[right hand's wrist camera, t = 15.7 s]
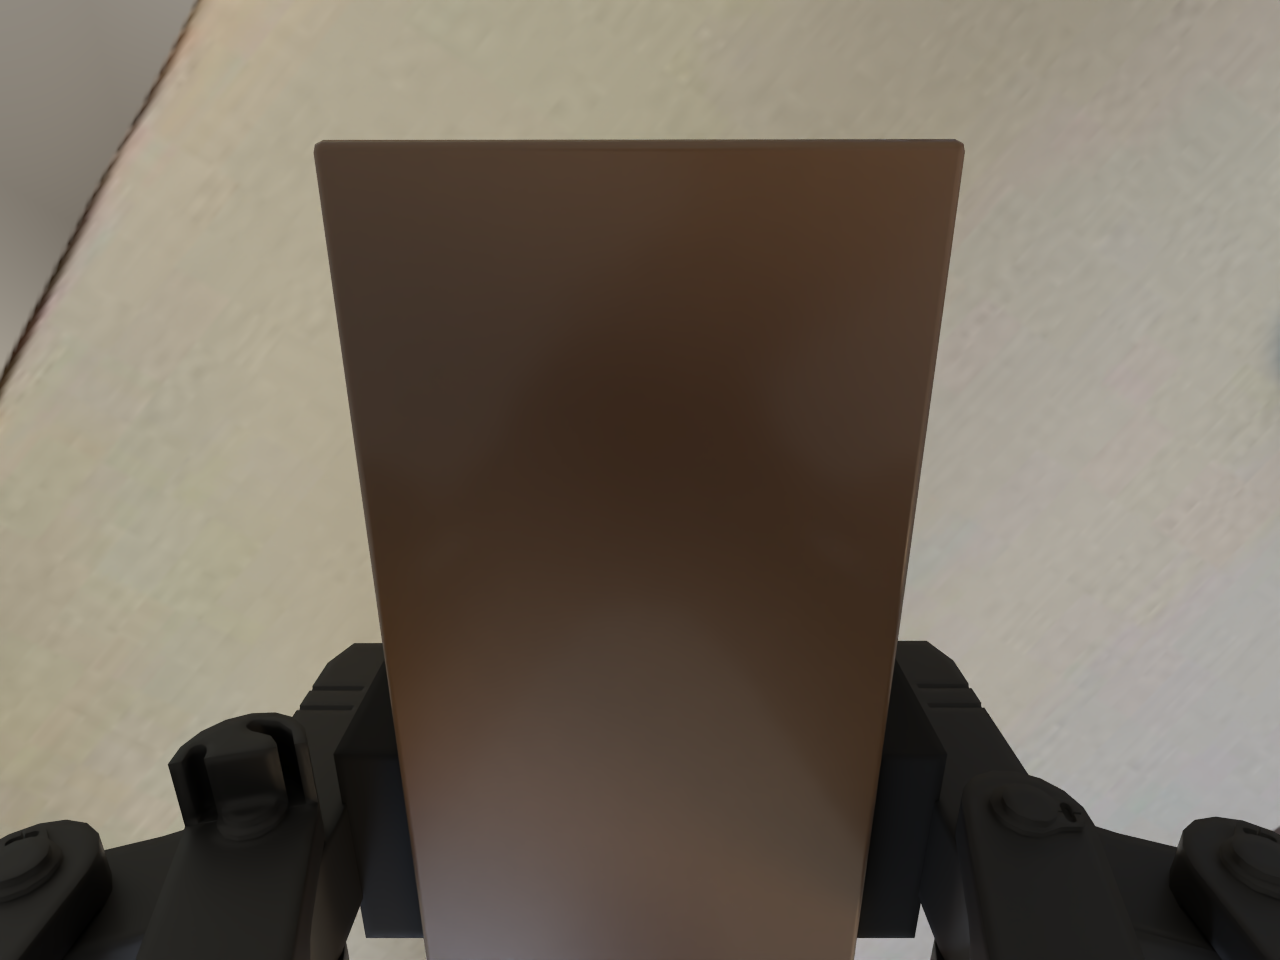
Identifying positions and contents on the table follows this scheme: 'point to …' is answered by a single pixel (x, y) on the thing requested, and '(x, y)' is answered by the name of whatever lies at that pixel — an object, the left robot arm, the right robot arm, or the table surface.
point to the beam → (639, 521)
